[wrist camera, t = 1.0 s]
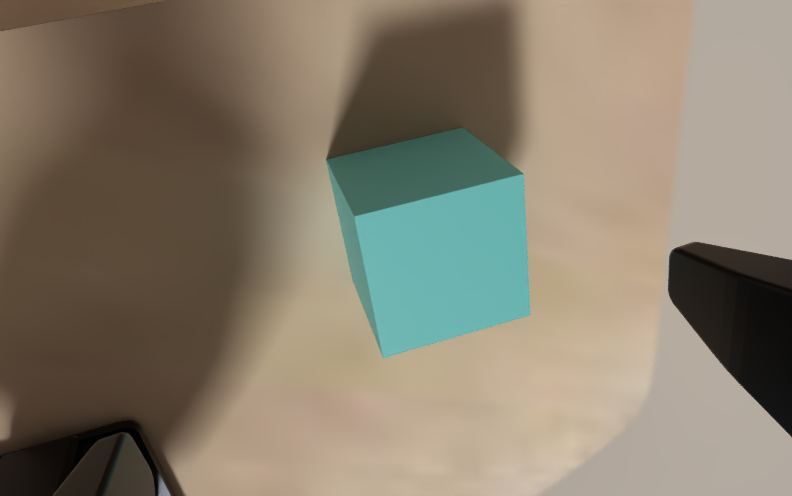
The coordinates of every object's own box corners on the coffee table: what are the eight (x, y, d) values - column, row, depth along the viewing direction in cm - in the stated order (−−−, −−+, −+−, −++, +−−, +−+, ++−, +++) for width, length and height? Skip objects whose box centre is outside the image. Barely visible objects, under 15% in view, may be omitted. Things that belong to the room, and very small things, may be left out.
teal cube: (473, 247, 24) (530, 315, 20) (352, 279, 23) (383, 357, 19) (462, 126, 21) (523, 174, 17) (325, 158, 21) (354, 216, 16)
